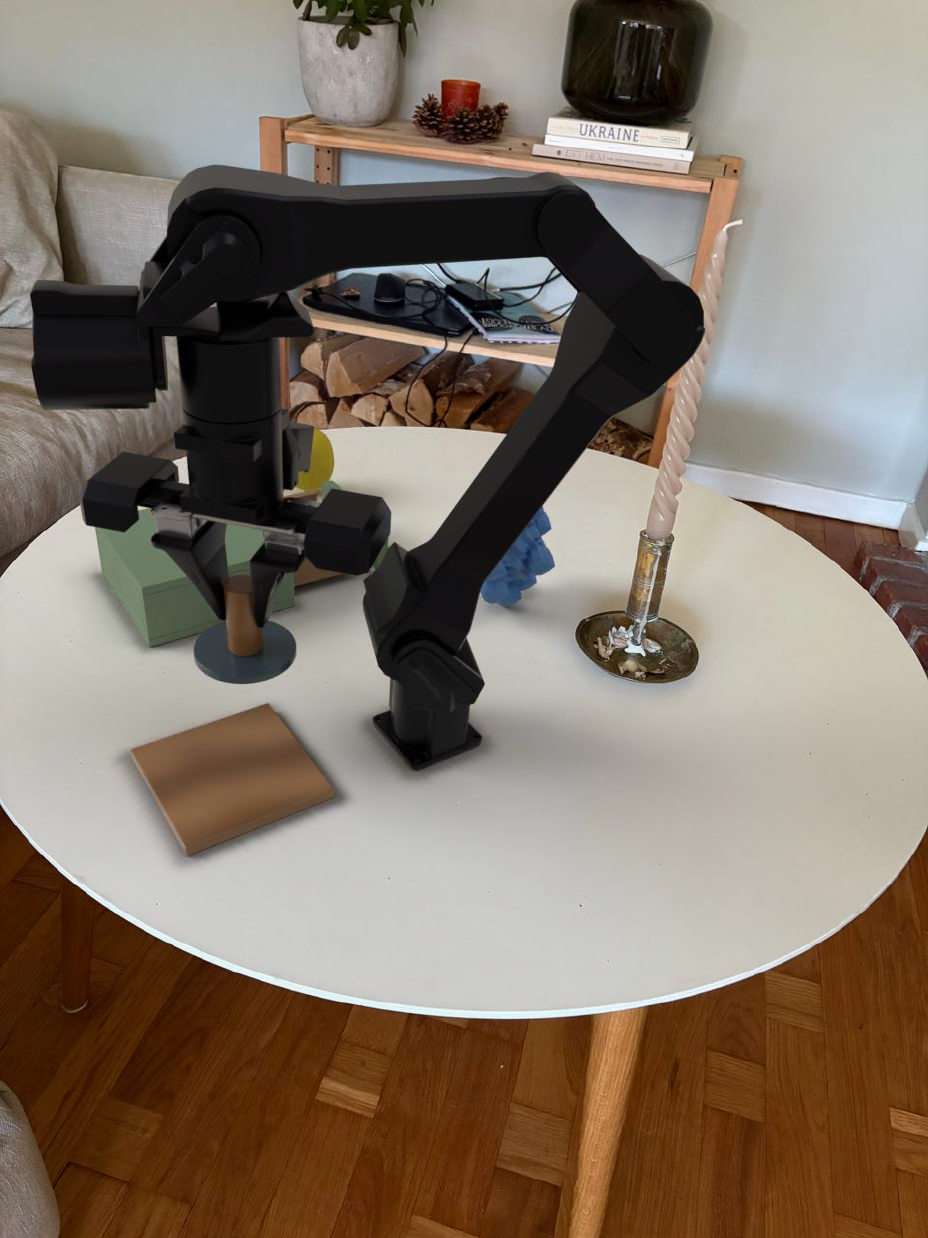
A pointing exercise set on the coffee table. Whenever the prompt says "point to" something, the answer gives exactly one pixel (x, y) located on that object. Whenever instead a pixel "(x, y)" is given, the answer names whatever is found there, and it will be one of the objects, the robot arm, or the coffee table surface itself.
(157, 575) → the cabinet
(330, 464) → the lemon
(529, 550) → the grapes
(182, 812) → the wooden peg base
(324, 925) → the coffee table surface
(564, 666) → the coffee table surface
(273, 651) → the pot lid
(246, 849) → the coffee table surface
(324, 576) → the drawer
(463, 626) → the robot arm
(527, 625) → the coffee table surface
